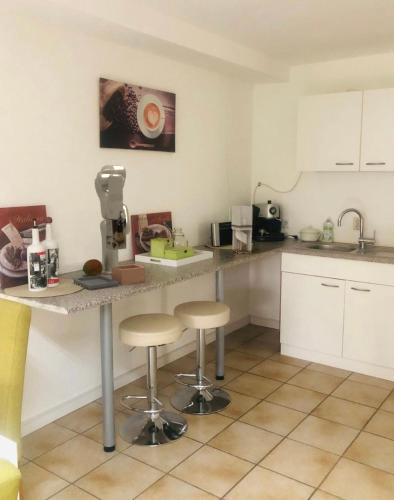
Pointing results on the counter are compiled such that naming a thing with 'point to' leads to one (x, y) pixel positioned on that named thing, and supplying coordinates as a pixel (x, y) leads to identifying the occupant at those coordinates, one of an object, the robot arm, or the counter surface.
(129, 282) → the terracotta open box
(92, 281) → the tray
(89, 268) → the fruit
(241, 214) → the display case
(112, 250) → the robot arm
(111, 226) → the coffee box
